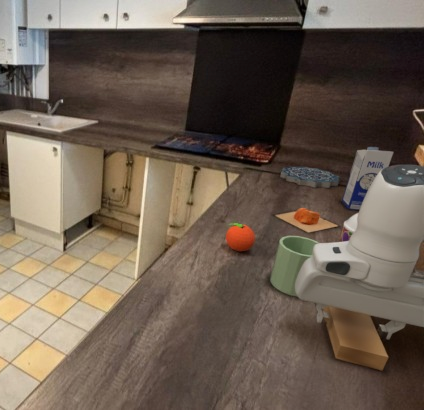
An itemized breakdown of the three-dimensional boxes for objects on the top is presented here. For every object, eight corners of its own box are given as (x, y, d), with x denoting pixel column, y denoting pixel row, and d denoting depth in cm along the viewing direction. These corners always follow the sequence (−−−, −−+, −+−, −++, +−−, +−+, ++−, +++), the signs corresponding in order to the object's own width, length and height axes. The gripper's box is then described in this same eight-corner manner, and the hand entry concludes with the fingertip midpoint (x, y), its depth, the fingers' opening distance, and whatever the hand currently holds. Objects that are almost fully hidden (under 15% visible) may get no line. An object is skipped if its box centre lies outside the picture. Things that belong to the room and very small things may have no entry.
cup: (311, 278, 82) (323, 240, 78) (317, 301, 74) (331, 260, 70) (269, 270, 85) (278, 232, 81) (271, 291, 77) (281, 251, 73)
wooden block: (361, 319, 69) (366, 307, 68) (382, 370, 58) (388, 357, 57) (322, 311, 72) (326, 299, 70) (335, 358, 61) (340, 345, 59)
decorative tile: (272, 171, 154) (273, 165, 153) (319, 171, 153) (321, 166, 152) (295, 187, 135) (297, 181, 134) (349, 188, 134) (351, 182, 133)
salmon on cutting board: (302, 210, 116) (306, 198, 114) (338, 226, 106) (342, 213, 104) (274, 215, 112) (277, 203, 111) (308, 232, 102) (312, 219, 100)
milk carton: (347, 209, 117) (366, 149, 109) (340, 201, 123) (358, 144, 115) (373, 211, 115) (394, 151, 107) (364, 203, 121) (384, 145, 113)
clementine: (215, 247, 95) (219, 223, 92) (228, 238, 99) (233, 215, 96) (244, 259, 89) (249, 234, 86) (257, 250, 93) (262, 225, 90)
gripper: (448, 267, 58) (416, 333, 63) (304, 242, 65) (286, 303, 71) (468, 289, 52) (431, 359, 58) (308, 259, 60) (289, 324, 65)
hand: (350, 328), depth 64 cm, fingers open, 8 cm apart
